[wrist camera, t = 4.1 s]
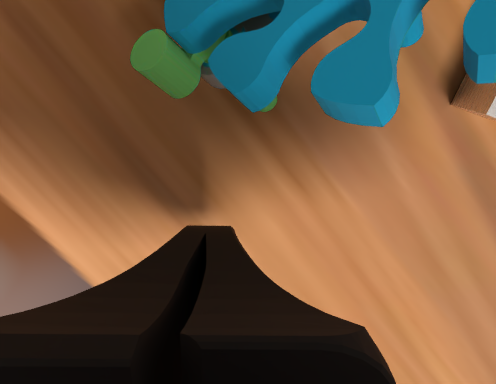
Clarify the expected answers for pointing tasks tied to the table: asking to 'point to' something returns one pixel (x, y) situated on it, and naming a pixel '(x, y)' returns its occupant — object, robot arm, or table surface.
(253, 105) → the gear
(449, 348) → the table surface
